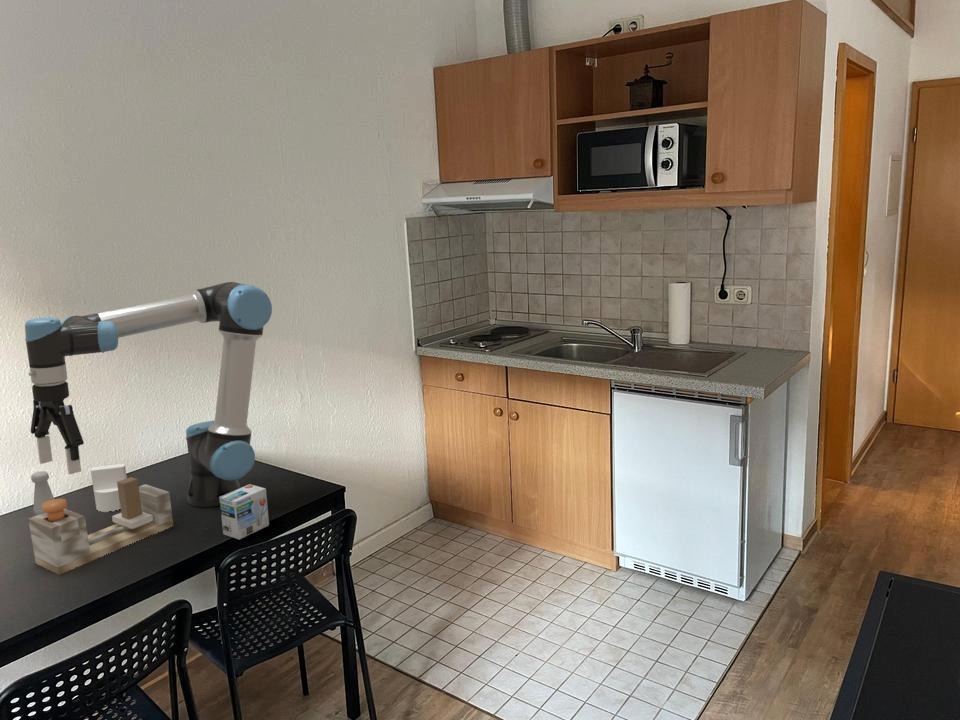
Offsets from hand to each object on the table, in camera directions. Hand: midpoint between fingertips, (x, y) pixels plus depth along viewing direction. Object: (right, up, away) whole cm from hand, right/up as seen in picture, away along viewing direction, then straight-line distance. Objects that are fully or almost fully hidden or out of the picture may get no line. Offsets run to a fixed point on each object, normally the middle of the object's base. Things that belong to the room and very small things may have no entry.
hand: (60, 467), depth 184 cm
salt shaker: (-21, -18, +31) cm, 42 cm away
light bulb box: (+40, -19, +18) cm, 48 cm away
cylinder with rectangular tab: (-5, -17, +37) cm, 41 cm away
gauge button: (-1, -14, 0) cm, 14 cm away
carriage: (+10, -17, +17) cm, 26 cm away
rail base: (+5, -22, +12) cm, 25 cm away
